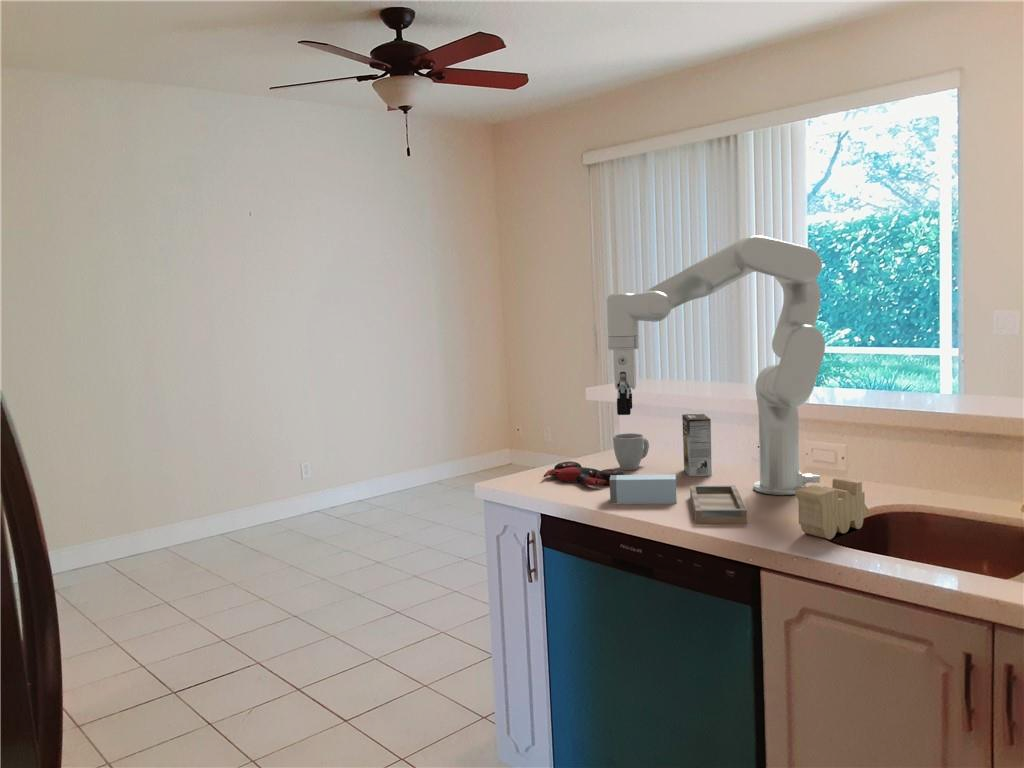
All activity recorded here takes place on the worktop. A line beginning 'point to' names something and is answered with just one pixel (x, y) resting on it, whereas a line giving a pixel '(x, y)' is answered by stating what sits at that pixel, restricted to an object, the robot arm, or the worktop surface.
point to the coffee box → (697, 444)
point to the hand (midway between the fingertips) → (625, 411)
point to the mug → (630, 450)
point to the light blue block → (643, 489)
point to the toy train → (831, 508)
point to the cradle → (717, 505)
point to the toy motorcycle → (582, 474)
